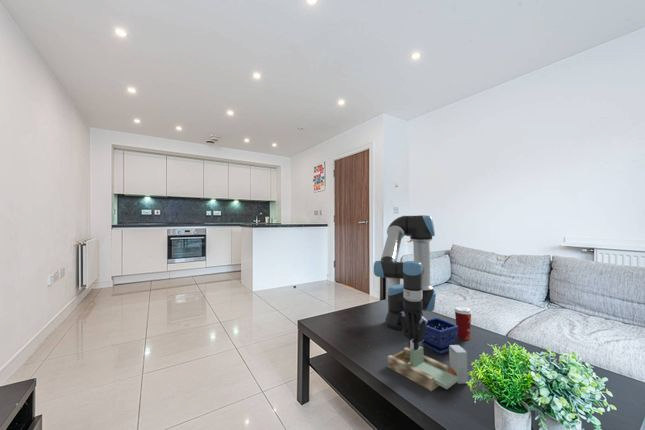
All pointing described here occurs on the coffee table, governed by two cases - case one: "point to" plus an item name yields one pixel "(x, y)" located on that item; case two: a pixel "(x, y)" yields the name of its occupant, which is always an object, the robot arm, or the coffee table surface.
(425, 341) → the flower pot
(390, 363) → the oak box
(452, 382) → the lid
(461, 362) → the skincare box
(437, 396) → the coffee table surface
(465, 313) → the coffee cup
